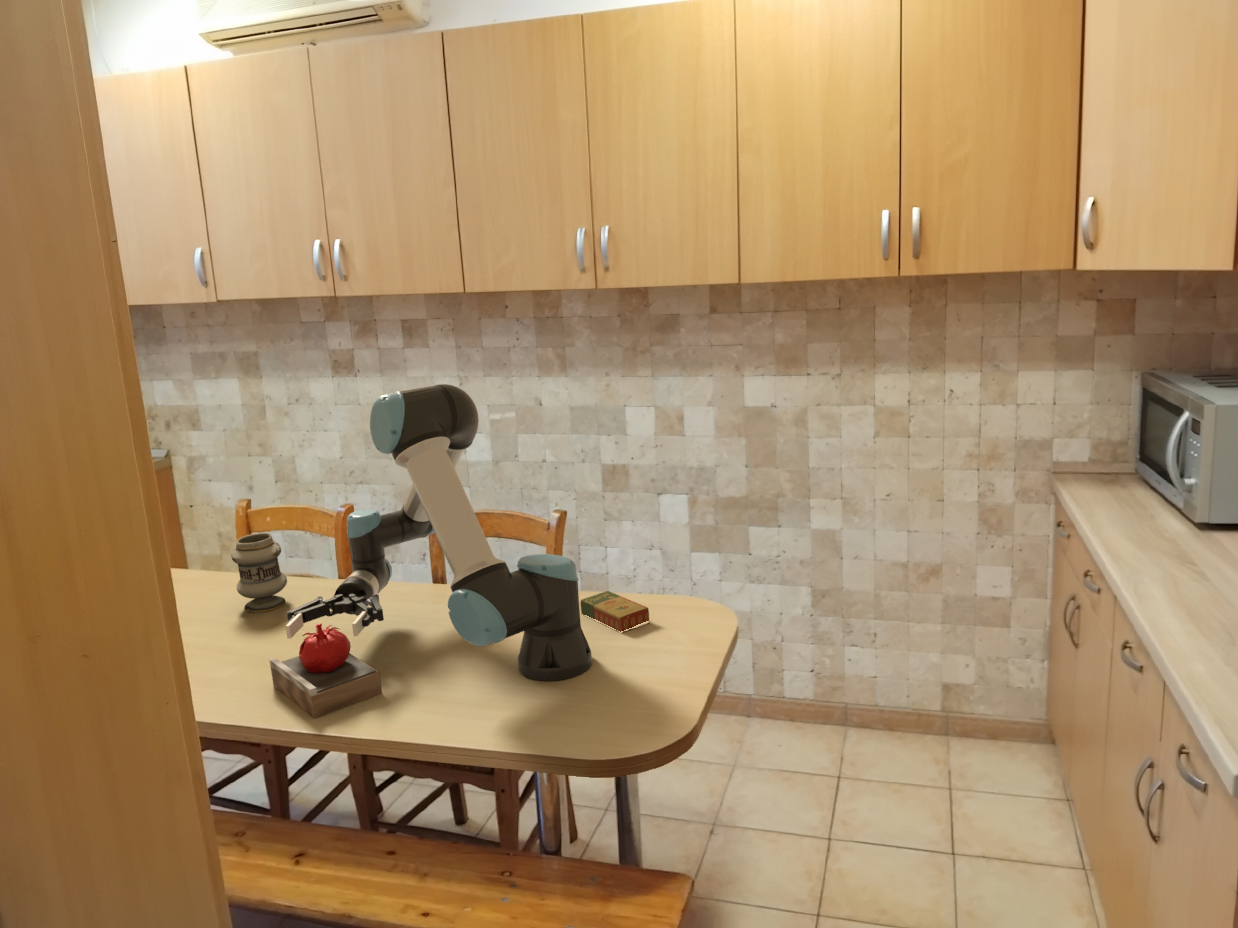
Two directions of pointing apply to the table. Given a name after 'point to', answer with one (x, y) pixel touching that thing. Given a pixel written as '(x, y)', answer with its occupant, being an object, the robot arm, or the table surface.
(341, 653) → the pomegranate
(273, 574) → the apothecary jar
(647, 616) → the carton
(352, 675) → the tray
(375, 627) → the table surface
